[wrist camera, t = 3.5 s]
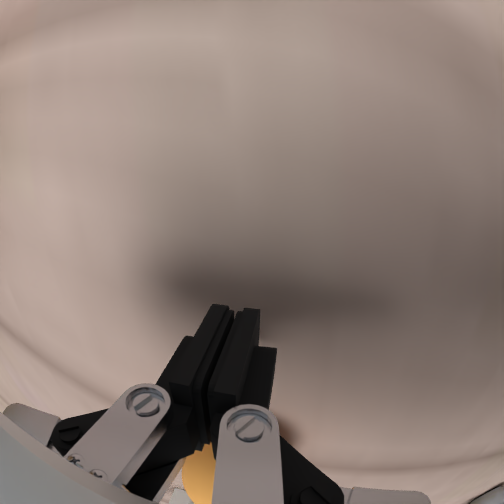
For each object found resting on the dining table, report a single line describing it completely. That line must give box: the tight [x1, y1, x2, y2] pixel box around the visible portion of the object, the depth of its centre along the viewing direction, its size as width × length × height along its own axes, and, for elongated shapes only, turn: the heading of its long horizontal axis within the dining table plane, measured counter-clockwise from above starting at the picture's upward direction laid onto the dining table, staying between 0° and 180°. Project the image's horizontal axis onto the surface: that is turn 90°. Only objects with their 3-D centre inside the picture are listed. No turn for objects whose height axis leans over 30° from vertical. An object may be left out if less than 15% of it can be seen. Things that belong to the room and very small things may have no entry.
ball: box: [182, 443, 216, 504], centre depth 12 cm, size 6×6×6 cm
